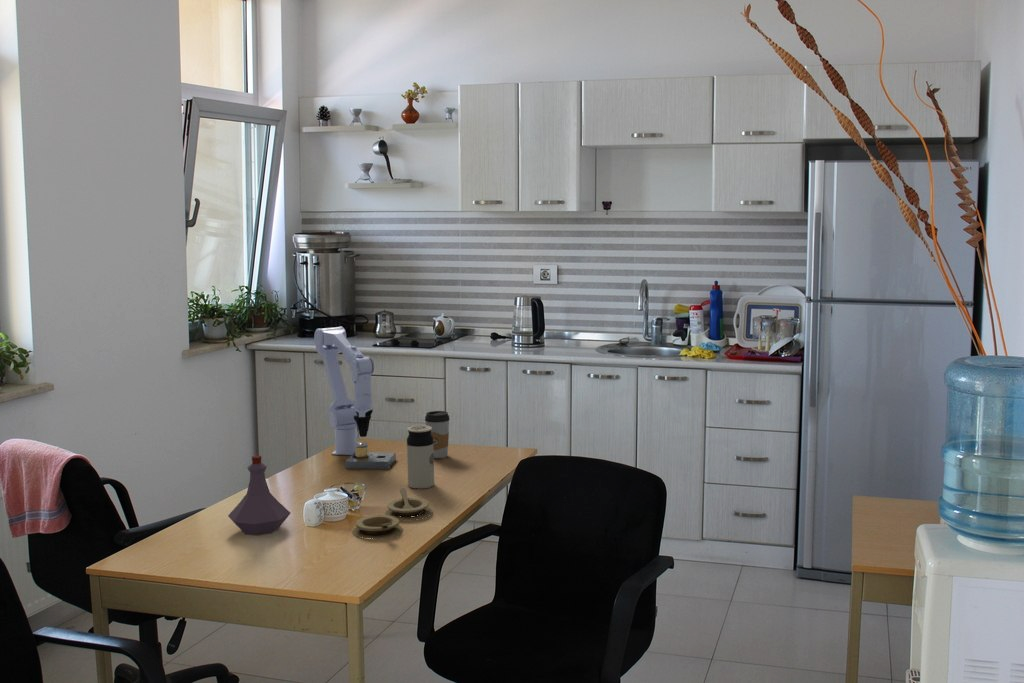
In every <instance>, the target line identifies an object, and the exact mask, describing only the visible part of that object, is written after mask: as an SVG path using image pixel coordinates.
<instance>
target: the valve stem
mask: <svg viewBox="0 0 1024 683" xmlns="http://www.w3.org/2000/svg"><path fill="white" fill-rule="evenodd" d="M368 451H369V448H368V442H366V441H358V442H357V443H355V453H356V459H363V458H368Z"/></svg>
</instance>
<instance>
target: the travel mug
mask: <svg viewBox="0 0 1024 683" xmlns="http://www.w3.org/2000/svg"><path fill="white" fill-rule="evenodd" d="M431 430H432V427H430V426H426V424H423V425H411V426H409V427H407V432H408V435H407V437H406V452H407V453H406V457H407V461H406V462H407V486H408V487H410V488H411V489H416V488H417V490H423V488H425V489H430V488H431V486H432V487H433V486H434V485H435V467H434V466H435V462H434V451H433V437H432V435H431Z"/></svg>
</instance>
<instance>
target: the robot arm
mask: <svg viewBox="0 0 1024 683" xmlns="http://www.w3.org/2000/svg"><path fill="white" fill-rule="evenodd" d="M313 341H314V344H315V349H316V351H317V355H319V356H321V358H322V362H323V366H324V368H325V374H326V377H327V381H328V384H329V388H330V392H331V396H332V400H333V401H332V402H331V403H330V405H329V406H328V408H327V413H328V423H329V425H330V426H331V428H333V429H334V449H335V450H334V451H332V453H331V455H336V456H337V455H338V456H339V455H340V456H341V455H342V456H344V455H347V456H348V455H349V456H351V455H352V454H353V453H354V452H355V443H357V442H359V438H364V437H367V435H368V431H369V428H370V420H371V418H372V413H373V411H374V409H373V401H372V400H373V399H372V374H373V373H374V370H375V364H374V360H373V358H372V357H371V356H365V355H364V354H363V352H361V351H360V349H359V348H358V347H357V346H356V345H351V343H350V342H349V341H348V339H347V332H346V329H345V328H344V327H343V326H340V325H339V326H336V327H325V328H316V330H315V331H314V337H313ZM340 353H342V358H343V360H345V362H346V363H347V364H348V365H349V370H350V373H351V379H352V381H353V397H354V398H353V399H354V400H353V399H351V398H350V397H348V393H347V390H346V386H345V385H346V384H345V381H344V378H343V374H342V369H341V367H340V364H339V359H338V354H340ZM358 436H359V437H358Z"/></svg>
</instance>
